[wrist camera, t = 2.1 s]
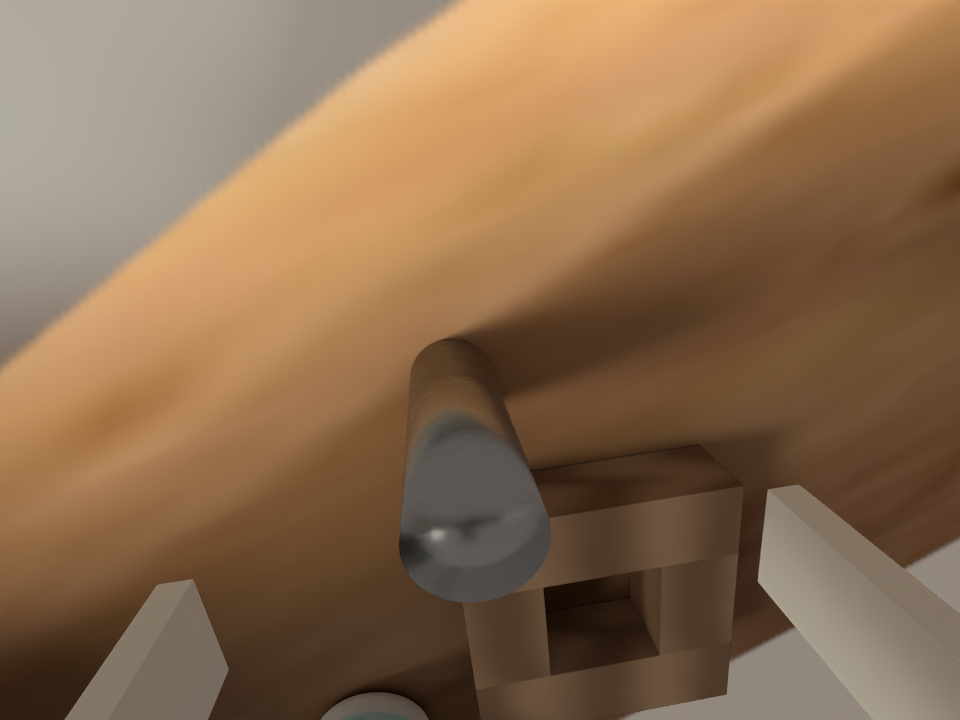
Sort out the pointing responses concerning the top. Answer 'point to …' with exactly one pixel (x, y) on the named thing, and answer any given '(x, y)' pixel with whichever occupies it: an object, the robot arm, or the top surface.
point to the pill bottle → (376, 708)
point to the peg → (466, 482)
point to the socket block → (625, 622)
